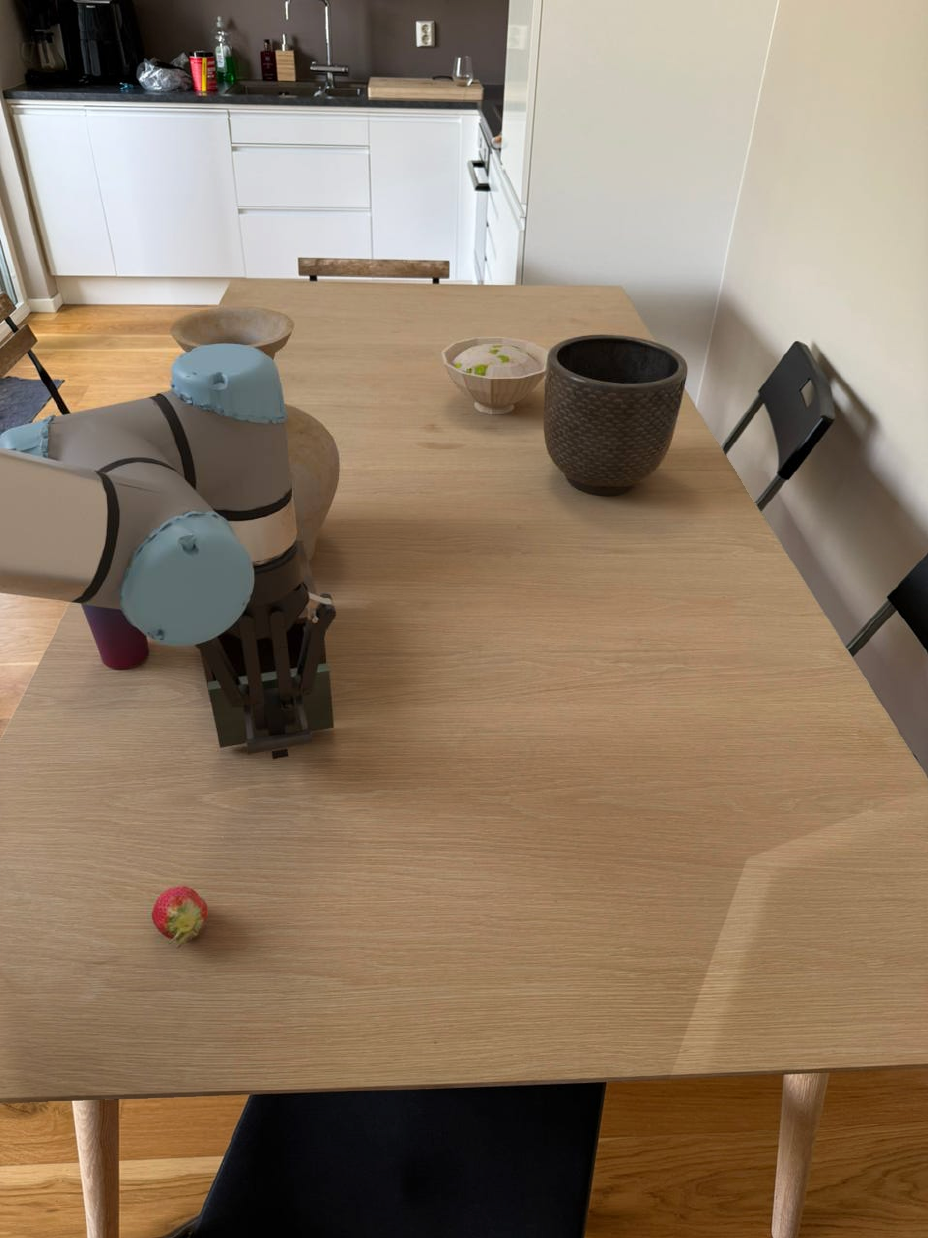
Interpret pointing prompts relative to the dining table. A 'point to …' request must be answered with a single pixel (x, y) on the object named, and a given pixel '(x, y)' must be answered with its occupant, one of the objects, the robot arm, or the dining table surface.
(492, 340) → the bowl
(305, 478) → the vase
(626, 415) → the planter
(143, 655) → the cup
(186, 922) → the fruit
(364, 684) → the dining table surface
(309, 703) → the drawer
